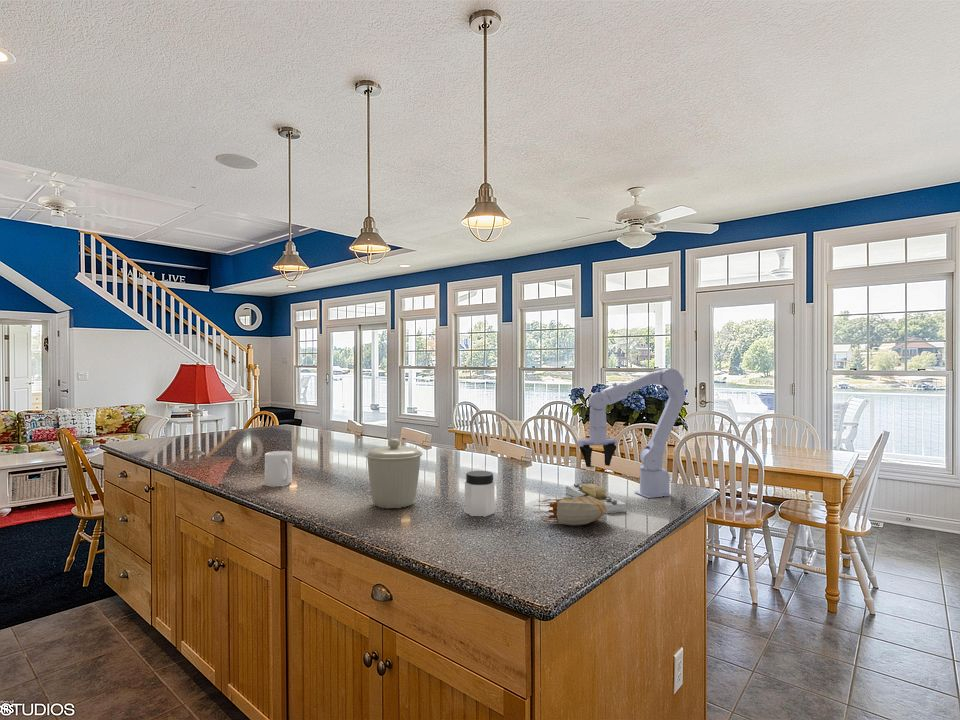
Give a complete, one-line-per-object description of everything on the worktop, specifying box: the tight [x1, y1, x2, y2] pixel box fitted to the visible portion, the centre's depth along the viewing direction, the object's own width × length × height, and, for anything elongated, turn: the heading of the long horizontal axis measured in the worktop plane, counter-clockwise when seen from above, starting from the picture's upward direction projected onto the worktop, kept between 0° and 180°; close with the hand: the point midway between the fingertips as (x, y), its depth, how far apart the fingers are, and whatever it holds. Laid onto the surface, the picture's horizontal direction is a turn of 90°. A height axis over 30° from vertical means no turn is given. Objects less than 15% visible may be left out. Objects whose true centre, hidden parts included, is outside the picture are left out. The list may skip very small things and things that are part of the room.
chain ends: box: [565, 483, 627, 514], centre depth 172 cm, size 7×26×3 cm, turn 19°
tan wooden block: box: [581, 483, 607, 500], centre depth 172 cm, size 4×9×5 cm, turn 17°
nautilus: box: [534, 496, 607, 527], centre depth 150 cm, size 8×22×15 cm
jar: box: [464, 470, 495, 518], centre depth 159 cm, size 9×8×12 cm
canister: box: [364, 438, 424, 509], centre depth 168 cm, size 18×18×21 cm
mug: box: [264, 450, 293, 486], centre depth 194 cm, size 10×12×12 cm
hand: (597, 465), depth 184 cm, fingers open, 7 cm apart
